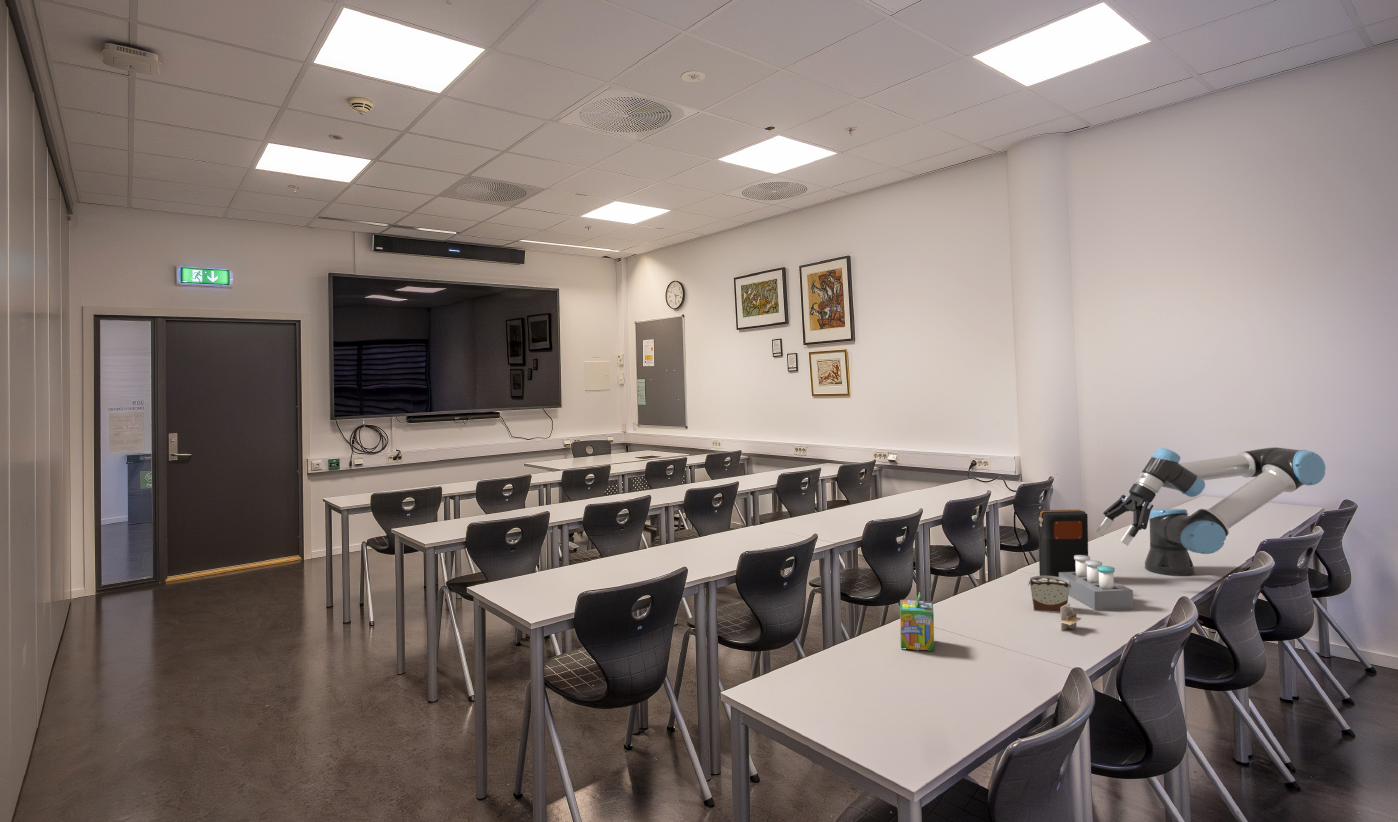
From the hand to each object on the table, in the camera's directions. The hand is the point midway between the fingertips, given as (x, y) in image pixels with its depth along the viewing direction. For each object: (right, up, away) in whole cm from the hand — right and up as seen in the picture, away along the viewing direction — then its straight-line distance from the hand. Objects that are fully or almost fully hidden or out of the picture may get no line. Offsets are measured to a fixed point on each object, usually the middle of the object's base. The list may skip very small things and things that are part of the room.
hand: (1111, 538), depth 242 cm
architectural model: (-37, -20, -40) cm, 58 cm away
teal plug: (-15, -13, -22) cm, 29 cm away
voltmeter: (-12, -16, +8) cm, 22 cm away
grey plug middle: (-15, -13, -15) cm, 24 cm away
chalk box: (-84, -22, -48) cm, 99 cm away
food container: (-34, -19, -22) cm, 44 cm away
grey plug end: (-15, -13, -8) cm, 21 cm away
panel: (-15, -17, -15) cm, 27 cm away
